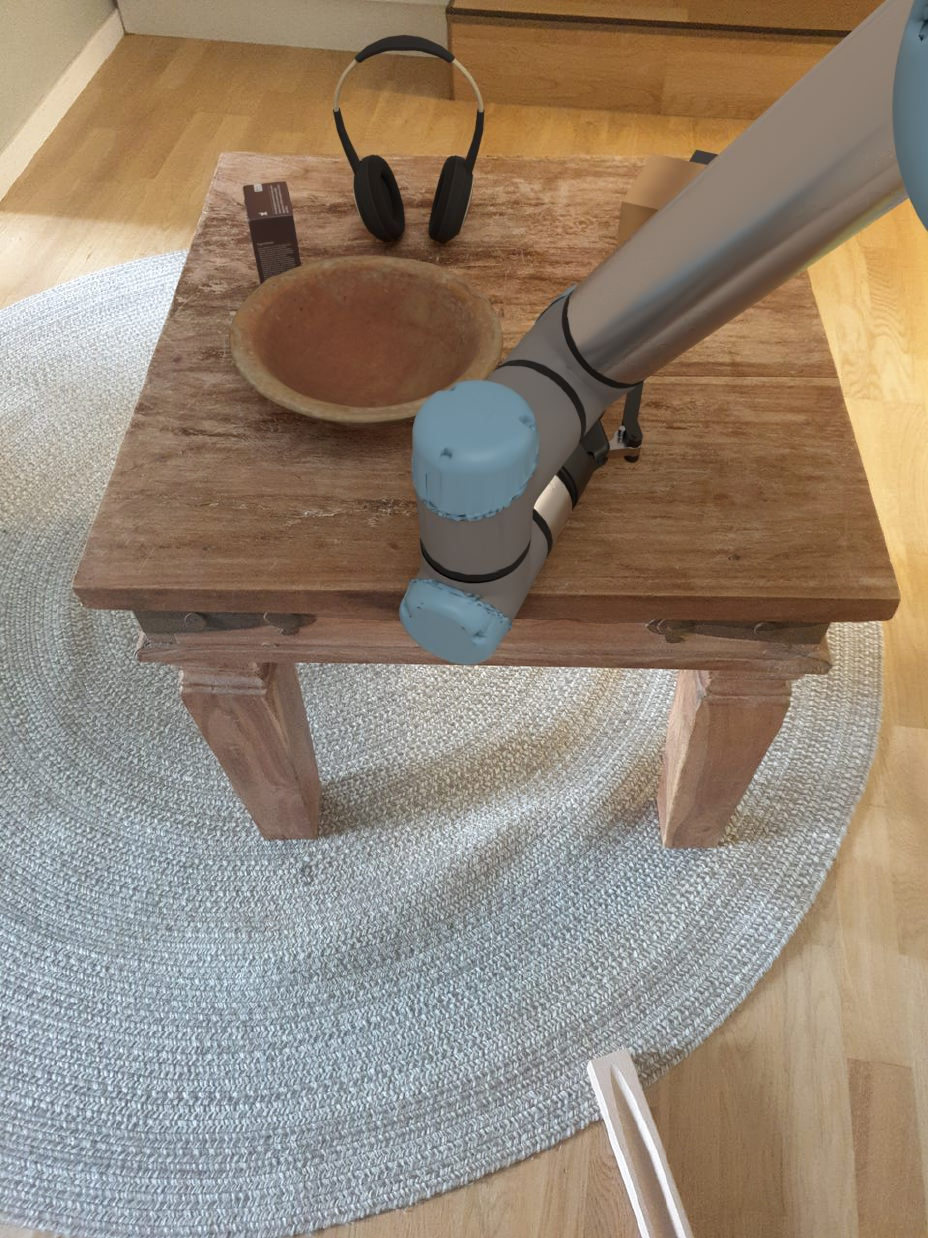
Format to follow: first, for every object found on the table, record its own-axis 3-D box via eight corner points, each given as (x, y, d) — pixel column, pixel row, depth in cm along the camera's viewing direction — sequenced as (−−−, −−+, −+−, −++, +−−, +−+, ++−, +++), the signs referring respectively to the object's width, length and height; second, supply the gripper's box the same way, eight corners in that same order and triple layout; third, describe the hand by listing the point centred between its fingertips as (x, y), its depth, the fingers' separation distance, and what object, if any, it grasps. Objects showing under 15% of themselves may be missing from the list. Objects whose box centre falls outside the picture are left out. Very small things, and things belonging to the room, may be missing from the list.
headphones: (483, 260, 98) (482, 59, 81) (345, 258, 99) (316, 58, 82) (486, 214, 103) (486, 15, 86) (354, 212, 103) (329, 15, 87)
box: (314, 325, 92) (293, 213, 82) (269, 332, 92) (243, 221, 82) (307, 289, 96) (286, 177, 86) (263, 295, 95) (237, 184, 85)
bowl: (526, 463, 81) (530, 393, 75) (255, 504, 79) (234, 436, 72) (475, 298, 94) (474, 226, 88) (242, 330, 92) (223, 258, 86)
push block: (720, 264, 97) (742, 171, 88) (695, 314, 92) (716, 222, 84) (638, 244, 99) (651, 152, 91) (610, 292, 94) (621, 200, 86)
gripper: (455, 495, 76) (564, 326, 88) (604, 546, 73) (696, 364, 85) (452, 428, 70) (570, 256, 82) (614, 481, 66) (713, 293, 78)
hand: (634, 311), depth 83 cm, fingers closed
